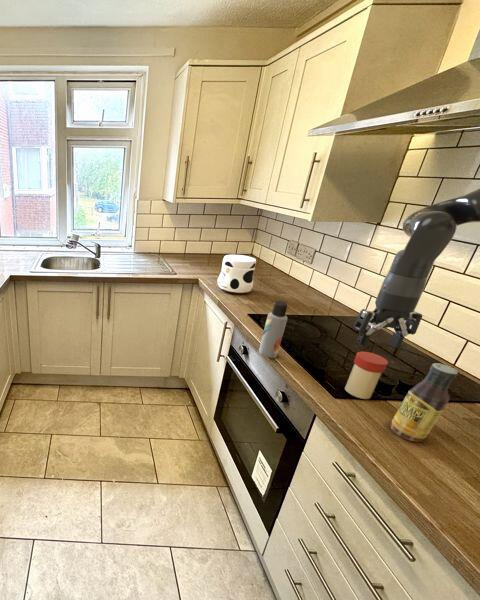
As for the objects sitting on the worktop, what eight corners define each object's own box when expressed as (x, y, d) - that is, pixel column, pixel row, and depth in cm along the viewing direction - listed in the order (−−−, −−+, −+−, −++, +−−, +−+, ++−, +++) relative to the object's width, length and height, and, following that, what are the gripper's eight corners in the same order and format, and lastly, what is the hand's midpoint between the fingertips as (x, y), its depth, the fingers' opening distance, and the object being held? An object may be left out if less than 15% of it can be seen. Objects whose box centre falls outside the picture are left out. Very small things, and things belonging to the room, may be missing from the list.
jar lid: (371, 359, 92) (374, 351, 91) (391, 373, 86) (395, 364, 85) (347, 359, 92) (350, 351, 91) (365, 372, 86) (369, 364, 85)
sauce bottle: (382, 424, 81) (414, 358, 73) (407, 424, 81) (441, 358, 73) (405, 444, 75) (443, 375, 67) (432, 445, 74) (473, 375, 67)
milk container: (209, 286, 176) (214, 255, 169) (234, 283, 181) (240, 253, 174) (232, 297, 161) (239, 263, 154) (258, 294, 166) (266, 261, 159)
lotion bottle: (279, 355, 111) (294, 302, 103) (271, 360, 108) (286, 306, 100) (263, 348, 115) (276, 297, 107) (255, 352, 112) (268, 301, 105)
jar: (360, 386, 95) (373, 354, 91) (376, 399, 89) (391, 366, 85) (339, 385, 95) (352, 353, 91) (354, 398, 90) (368, 365, 85)
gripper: (384, 295, 77) (361, 352, 83) (444, 297, 76) (416, 354, 83) (360, 285, 84) (340, 338, 90) (415, 286, 83) (391, 340, 89)
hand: (377, 346), depth 86 cm, fingers open, 8 cm apart
